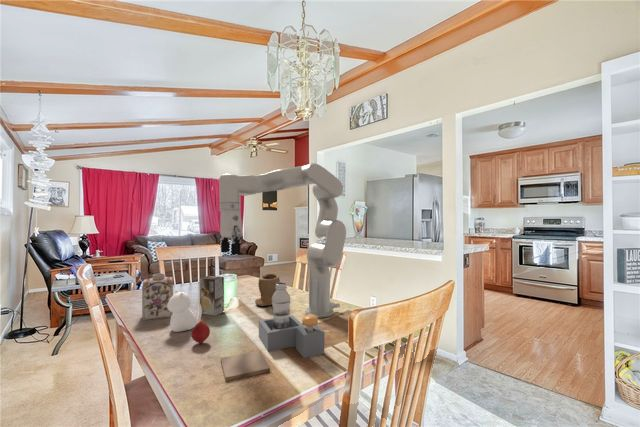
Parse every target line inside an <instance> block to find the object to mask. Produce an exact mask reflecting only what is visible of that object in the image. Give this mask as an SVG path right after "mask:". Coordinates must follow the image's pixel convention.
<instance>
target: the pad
mask: <svg viewBox="0 0 640 427" xmlns="http://www.w3.org/2000/svg"><path fill="white" fill-rule="evenodd" d="M220 364H221V368H222V371H223V377H224V380H225V382H229V381H232V380H233V381H234V380H237V379H243V378H247V377H253V376H256V375H260V374H265V373H269V372H270V371H271V368H270V366H269V364H268V362H267V360H266V358H265V357H264V354H263V353H262V351H261V350H255V351H250V352H245V353H241V354H234V355H229V356H224V357H220Z"/></svg>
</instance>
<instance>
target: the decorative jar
mask: <svg viewBox="0 0 640 427" xmlns="http://www.w3.org/2000/svg"><path fill="white" fill-rule="evenodd" d="M141 288H142V289H141V290H142V291H141V292H142V293H141V296H142V297H141V316H142V317H141V318H142V321H148V320H155V319H164V318H171V316H172V314H173V312H171V311H169V310H168V308H167V305H168V302H169V300H170V298H171V297H172V296H173V295H174V277H173V276H165V273H161V272H158V273H154V274H152V277H149V278H146V279H144V280H143V281H142V287H141Z"/></svg>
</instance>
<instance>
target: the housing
mask: <svg viewBox="0 0 640 427" xmlns="http://www.w3.org/2000/svg"><path fill="white" fill-rule="evenodd" d="M273 319H274V317H272V318H264V319H258V338H259V339H260V341H261V343H262V344H263V346H264V348H265V349H266V351H267V352H272V351H277V350H282V349H289V348H293V347H295V349H296V350H297V352H298V353H299V354H300V355H301V356H302V358H303V359H306V358H307V359H308V358H311V357H316V356H320V355H321V356H322V355H325V331H324V329H322V328H320V326H318V324H317V325H315V326H313V331H311V332H307V326H305V325H303V324H302V321H300V320H299V319H298V318H296V317H295V315H294V314H292V315H291V314H290V315H289V324H290V328H284V329H277V330H272V329H273Z"/></svg>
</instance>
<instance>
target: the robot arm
mask: <svg viewBox="0 0 640 427" xmlns="http://www.w3.org/2000/svg"><path fill="white" fill-rule="evenodd" d="M218 185H219V190H218V191H219V212H220V220H219V221H220V223H219V224H220V225H219V226H220V227H219V228H220V229H219V233H220V236H219V238H220V253H230V255H231V256H235V255H236V256H237V255H241V242H242V241H241V239H242V237H243V224H242V223H243V222H242V216H241V215H242V214H241V196H244V197H245V196H246V197H247V196H252V195H256V194H261V193H266V192H278V191H283V190H288V189H293V188H298V187H304V186H309V185H313V186H312V194H313V196H314V197H315V199H316V200H317V202H318V204H319V212H318V216H317V220H316V225H315V229H314V234H315V237H316V238H317V240H318V239H319V240H320V241H324V242H314V243H312V244H311V245H309V247H308V248H307V251H306V260H307V265H308V308H306V310H305V315H316V316H317V317H318V319H321V318H323V319H324V318H329V317H331V316H333V315H334V312H335V311H334V309H337V308H340V307H341V304H340V302H337V303H335V302H331V272H330V271H331V270H330V268H333V267H336V266H337V265H338V264H339V263H340V261H341V259H342V256H343V251H344V247H345V243H346V242H345V241H346V239H347V238H346V237H347V228H346V225H345V224H344V222H343V221H341V220H338V213H339V206H338V203H337V200H336V198H339V197H340V196H341V195H342V194H343V191H344V186H343V183H342V181H341V180H340V179H339V178H338V177H336V176H335V175H334V174H332V172H330V171H329V170H327V169H326V168H325V167H323V166H322V165H320V164H318V163H313V162H312V163H309V164H305V165H300V166H299V165H298V166H294V167H287V168H280V169H276V170H273V171H270V172H266V173H262V174H258V175H257V174H256V175H255V174H243V175H241V174H239V175H238V174H232V173H231V174H229V173H225V174H224V173H223V174H221V175H220V176H219V184H218ZM230 241H231V243H230ZM230 245H231V247H230Z"/></svg>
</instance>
